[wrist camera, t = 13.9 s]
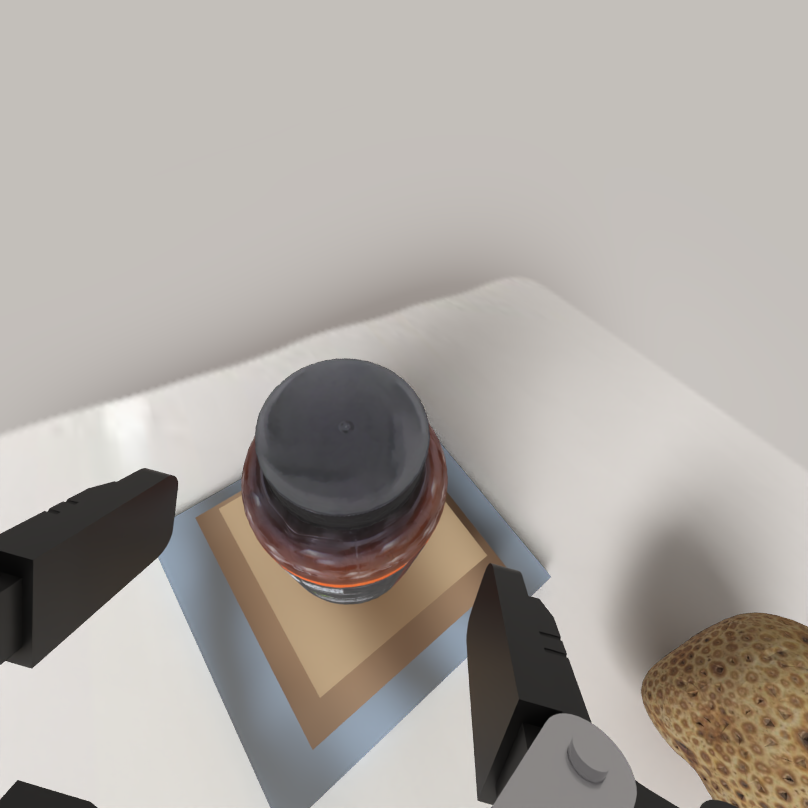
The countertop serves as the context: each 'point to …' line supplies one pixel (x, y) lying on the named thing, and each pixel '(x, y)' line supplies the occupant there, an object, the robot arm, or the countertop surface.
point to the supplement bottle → (344, 479)
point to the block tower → (329, 635)
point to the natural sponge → (738, 709)
